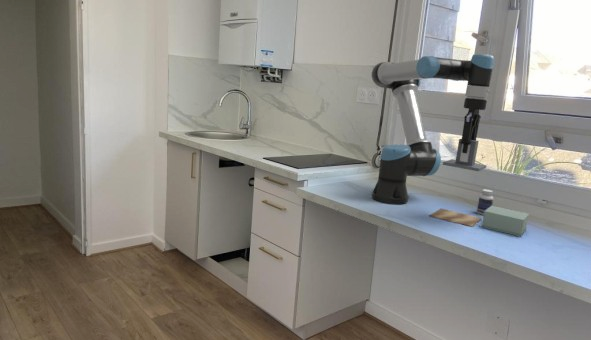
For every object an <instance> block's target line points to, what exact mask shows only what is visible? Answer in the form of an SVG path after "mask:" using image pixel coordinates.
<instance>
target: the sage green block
mask: <svg viewBox="0 0 591 340" xmlns="http://www.w3.org/2000/svg"><path fill="white" fill-rule="evenodd" d="M528 220H529V213H528V212H522V211H518V210H512V209H508V208H503V207H499V206H495V205H492V206H490V207H489V208H488V209H487V210H485V211H484V215H483V217H482V223H481V226H480V227H481V228H485V229H490V230H494V231H497V232H501V233H505V234H509V235H514V236H517V237H522V236H523V235H524V234H525V232H526V230H527V227H528Z"/></svg>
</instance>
